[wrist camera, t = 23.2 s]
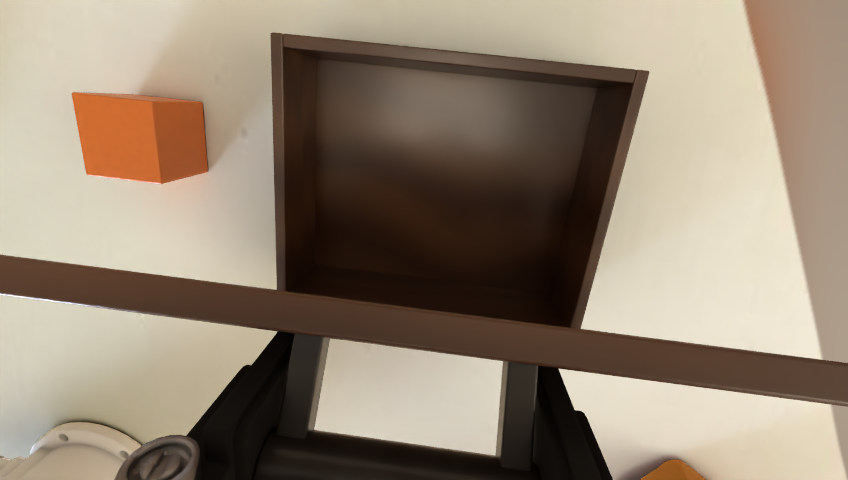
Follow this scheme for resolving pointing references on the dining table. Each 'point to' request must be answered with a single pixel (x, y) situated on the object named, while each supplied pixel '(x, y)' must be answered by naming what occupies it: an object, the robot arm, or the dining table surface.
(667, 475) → the coffee package
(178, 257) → the dining table surface
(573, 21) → the dining table surface
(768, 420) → the dining table surface
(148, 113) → the block
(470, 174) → the chest
